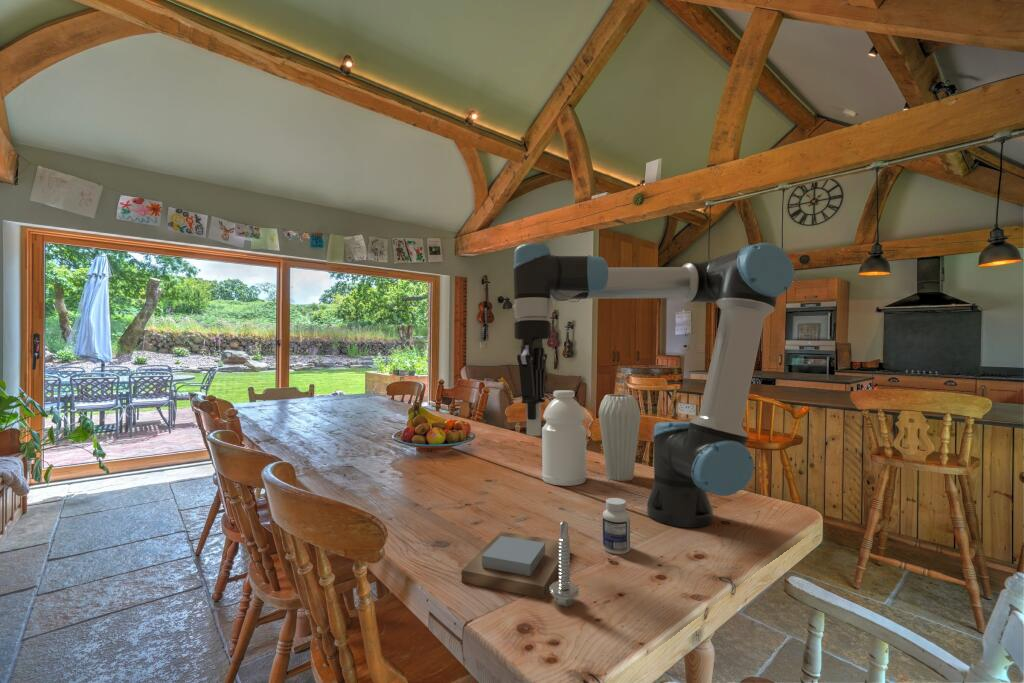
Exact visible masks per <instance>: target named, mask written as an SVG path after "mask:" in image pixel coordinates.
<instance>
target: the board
mask: <svg viewBox="0 0 1024 683" xmlns="http://www.w3.org/2000/svg"><path fill="white" fill-rule="evenodd" d="M501 536H504V537H511V538H517V539H523V540H529V541H536V542H542V543H545V555H544V556H543V558H542V559H541V561H540V562H539V564H538V565H537V567H536V568H535V570H534V571H533V573H532V574H531V576H526V575H521V574H516V573H510V572H505V571H500V570H495V569H489V568H484V567H482V555H483V554H484V553H485V552H486V551H487V550H488V549H489V548H490V547H491V546H492V545H493V544H494V543H495V542H496V541H497V540H498V539H499V538H500V537H501ZM558 542H559V539H556V540H555V539H551V538H545V537H539V536H538V537H537V536H532V535H524V534H518V533H513V532H506V531H500V532H498V533H497V534H496V536H495V537H493V538H492V539H491V541H489V543H488V544H486V545H485V546H484V548H482V549H481V551H480V552H479V553H477V554H476V555H475V556H474V557H473V558H472V559H471V560H470V561H469V563H467V564H466V565H465V566H464V567H463V568H462V569H461V583H465V584H470V585H475V586H481V587H484V588H490V589H495V590H500V591H505V592H510V593H512V594H513V593H514V594H519V595H523V596H528V597H533V598H538V599H543V600H544V599H545V598H546V596H547V594H548V592H549V587H550V585H551V584H553V583H554V582H555V580H556V578H557V576H558V575H559V573H558V572H559V569H558V568H559V565H558V564H559V562H558V561H559V558H558V557H559V554H558V553H559V551H558V550H559V547H558V546H559V543H558ZM569 544H571V543H569ZM570 547H571V546H569V548H570ZM569 551H570V552H571V548H570V550H569Z"/></svg>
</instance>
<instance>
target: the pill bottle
mask: <svg viewBox="0 0 1024 683" xmlns="http://www.w3.org/2000/svg"><path fill="white" fill-rule="evenodd" d="M605 507H606V509H605V510H604V511H603V512H602V548H603V549H604V551H606V552H607V553H610V554H615V555H624V554H627V553H628V552H630V549H631V540H630V539H631V535H630V534H631V530H630V529H631V527H630V526H631V524H630V522H631V521H630V518H631V517H630V514H629V512H628V511H626V509H627V502H626V500H625V499H623V498H618V497H609V498H607V499H606V500H605Z"/></svg>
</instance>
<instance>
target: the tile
mask: <svg viewBox="0 0 1024 683" xmlns="http://www.w3.org/2000/svg"><path fill="white" fill-rule="evenodd" d="M544 555H545V543H542V542H536V541H529V540H523V539H517V538H511V537H504V536H501V537H500V538H499V539H498V540H497V541H496V542H495V543H494V544H493V545H492V546H491V547H490V548H489V549H488V550H487V551H486V552H485V553H484V554H483V555H482V567H484V568H489V569H495V570H500V571H505V572H510V573H516V574H521V575H526V576H531V574H532V573H533V571H534V570H535V568H536V567H537V565H538V564H539V562H540V561H541V559H542V558H543V556H544Z"/></svg>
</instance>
